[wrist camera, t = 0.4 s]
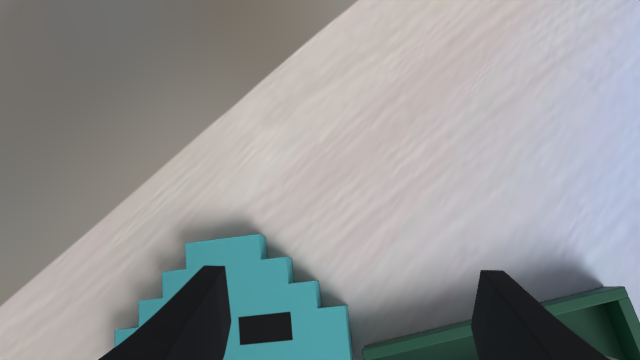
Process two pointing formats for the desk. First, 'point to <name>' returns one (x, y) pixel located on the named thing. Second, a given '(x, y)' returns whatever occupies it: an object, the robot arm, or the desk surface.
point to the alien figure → (261, 304)
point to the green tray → (573, 311)
